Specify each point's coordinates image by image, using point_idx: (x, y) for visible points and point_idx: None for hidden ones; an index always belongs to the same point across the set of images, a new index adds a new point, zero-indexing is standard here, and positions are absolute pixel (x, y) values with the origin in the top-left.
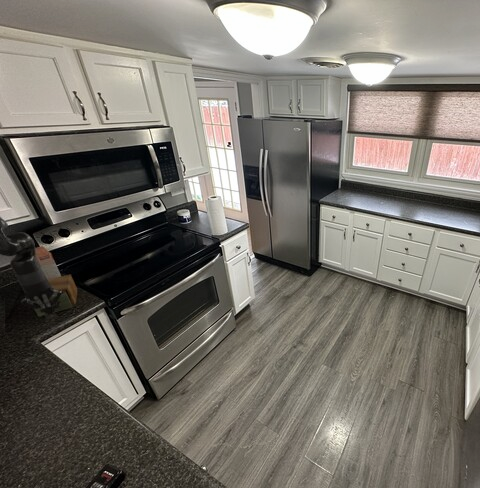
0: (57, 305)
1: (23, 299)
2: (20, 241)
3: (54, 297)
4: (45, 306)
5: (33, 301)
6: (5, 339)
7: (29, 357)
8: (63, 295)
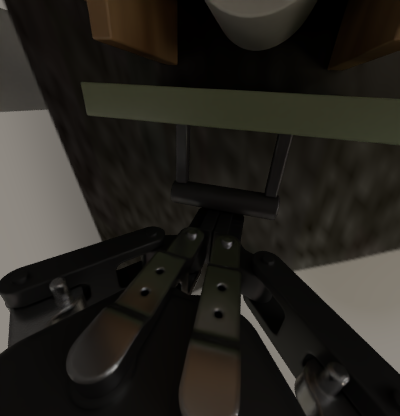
0: (267, 214)
1: (8, 304)
2: None
3: (272, 132)
4: (201, 268)
5: (96, 94)
6: (98, 233)
7: None
8: (367, 141)
